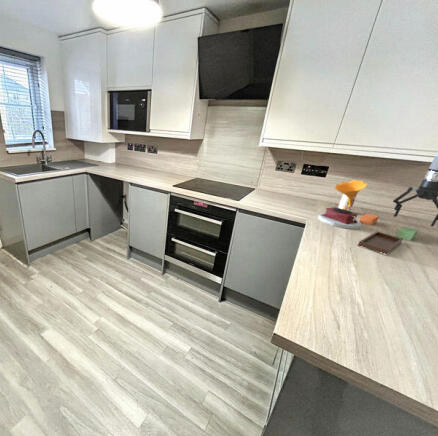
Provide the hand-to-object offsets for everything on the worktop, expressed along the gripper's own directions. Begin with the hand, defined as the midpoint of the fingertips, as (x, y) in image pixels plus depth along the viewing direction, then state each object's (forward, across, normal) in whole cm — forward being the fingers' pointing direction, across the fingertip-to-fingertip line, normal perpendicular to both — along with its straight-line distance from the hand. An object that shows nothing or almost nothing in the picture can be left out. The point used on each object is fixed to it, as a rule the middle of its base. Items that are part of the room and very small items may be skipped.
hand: (412, 220), depth 121 cm
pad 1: (+9, -18, +8) cm, 21 cm away
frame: (+9, -4, -26) cm, 28 cm away
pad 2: (+9, 0, 0) cm, 9 cm away
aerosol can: (+10, -34, +18) cm, 39 cm away
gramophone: (+10, -27, -10) cm, 30 cm away
